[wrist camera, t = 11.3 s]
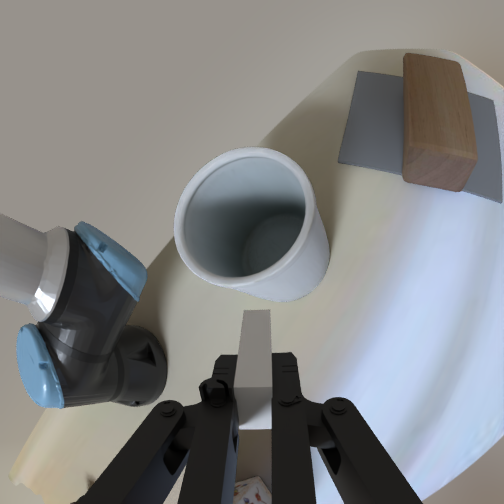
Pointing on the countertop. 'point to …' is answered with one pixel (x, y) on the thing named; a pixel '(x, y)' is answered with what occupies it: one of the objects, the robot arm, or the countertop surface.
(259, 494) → the decorative jar
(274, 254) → the utensil holder
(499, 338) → the countertop surface
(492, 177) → the mat
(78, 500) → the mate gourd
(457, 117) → the block
